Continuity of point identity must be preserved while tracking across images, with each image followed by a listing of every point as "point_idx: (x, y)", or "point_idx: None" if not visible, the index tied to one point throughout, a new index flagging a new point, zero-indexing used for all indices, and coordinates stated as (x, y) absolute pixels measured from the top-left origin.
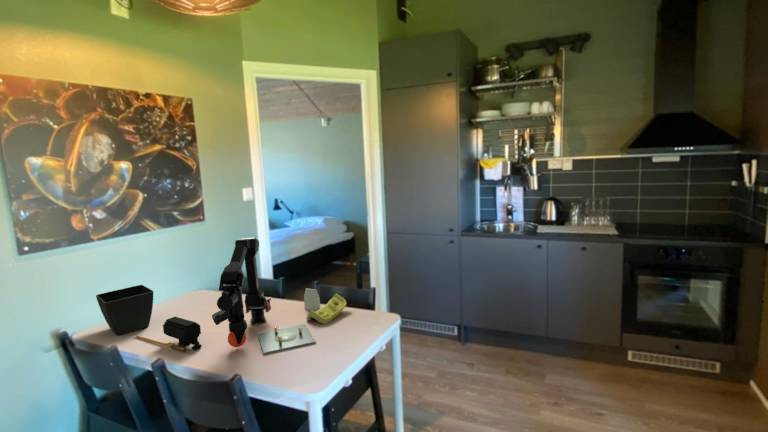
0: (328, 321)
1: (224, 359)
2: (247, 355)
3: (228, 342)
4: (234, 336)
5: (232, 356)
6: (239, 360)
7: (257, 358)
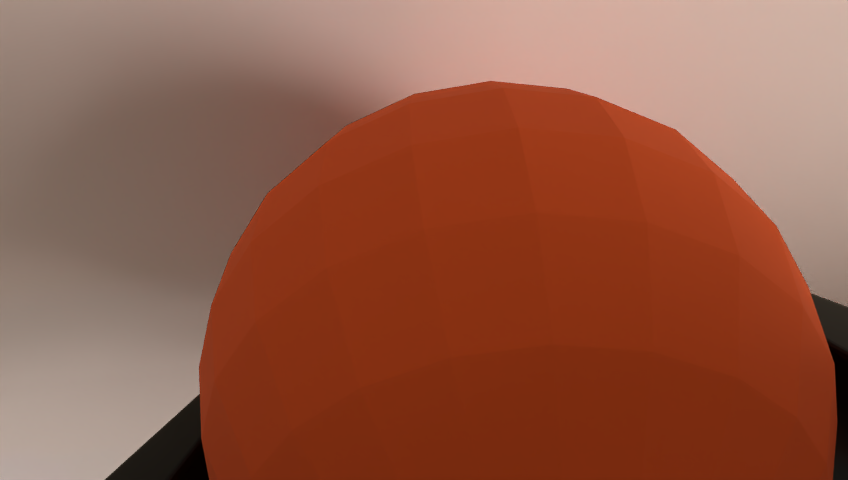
0: None
1: (38, 11)
2: (195, 359)
3: (374, 113)
4: (218, 474)
5: (172, 153)
6: (25, 282)
7: (102, 461)
